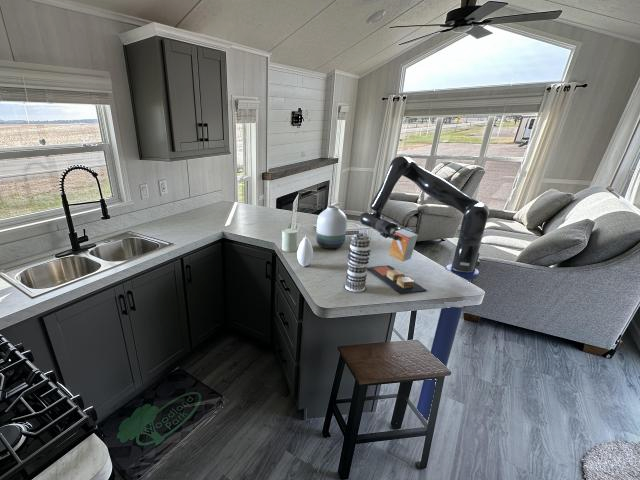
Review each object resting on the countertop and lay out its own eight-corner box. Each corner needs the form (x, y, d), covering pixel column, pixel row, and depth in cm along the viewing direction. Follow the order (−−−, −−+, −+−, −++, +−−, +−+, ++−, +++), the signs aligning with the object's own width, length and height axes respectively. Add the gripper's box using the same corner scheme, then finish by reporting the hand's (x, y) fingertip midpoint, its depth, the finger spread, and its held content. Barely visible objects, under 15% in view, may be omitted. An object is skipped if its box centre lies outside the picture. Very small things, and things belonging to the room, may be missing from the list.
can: (299, 247, 197) (299, 228, 192) (294, 252, 190) (295, 232, 185) (284, 245, 201) (284, 227, 196) (279, 250, 193) (279, 231, 188)
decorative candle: (345, 291, 144) (351, 237, 134) (343, 282, 152) (348, 231, 142) (367, 293, 142) (374, 238, 132) (363, 283, 151) (370, 231, 141)
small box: (388, 255, 162) (394, 231, 155) (396, 252, 165) (403, 228, 158) (402, 262, 156) (410, 237, 149) (410, 259, 159) (418, 234, 152)
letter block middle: (396, 275, 157) (397, 269, 155) (402, 279, 152) (403, 273, 151) (386, 276, 156) (387, 270, 155) (392, 280, 151) (393, 274, 150)
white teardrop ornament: (293, 265, 172) (294, 233, 165) (303, 261, 177) (305, 229, 170) (305, 270, 167) (307, 236, 160) (315, 265, 171) (317, 232, 164)
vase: (331, 253, 187) (335, 211, 178) (309, 245, 200) (311, 206, 190) (350, 246, 196) (354, 206, 186) (328, 239, 209) (331, 202, 199)
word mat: (388, 266, 168) (388, 265, 167) (425, 290, 142) (426, 289, 142) (366, 268, 166) (367, 267, 166) (400, 294, 141) (401, 292, 140)
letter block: (406, 282, 149) (407, 276, 148) (413, 287, 145) (414, 281, 144) (396, 283, 149) (397, 277, 147) (403, 288, 144) (404, 282, 143)
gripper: (374, 221, 166) (392, 231, 152) (399, 219, 168) (420, 228, 154) (372, 235, 169) (390, 246, 155) (397, 233, 171) (417, 243, 157)
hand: (405, 237), depth 154 cm, fingers closed on small box, 8 cm apart
